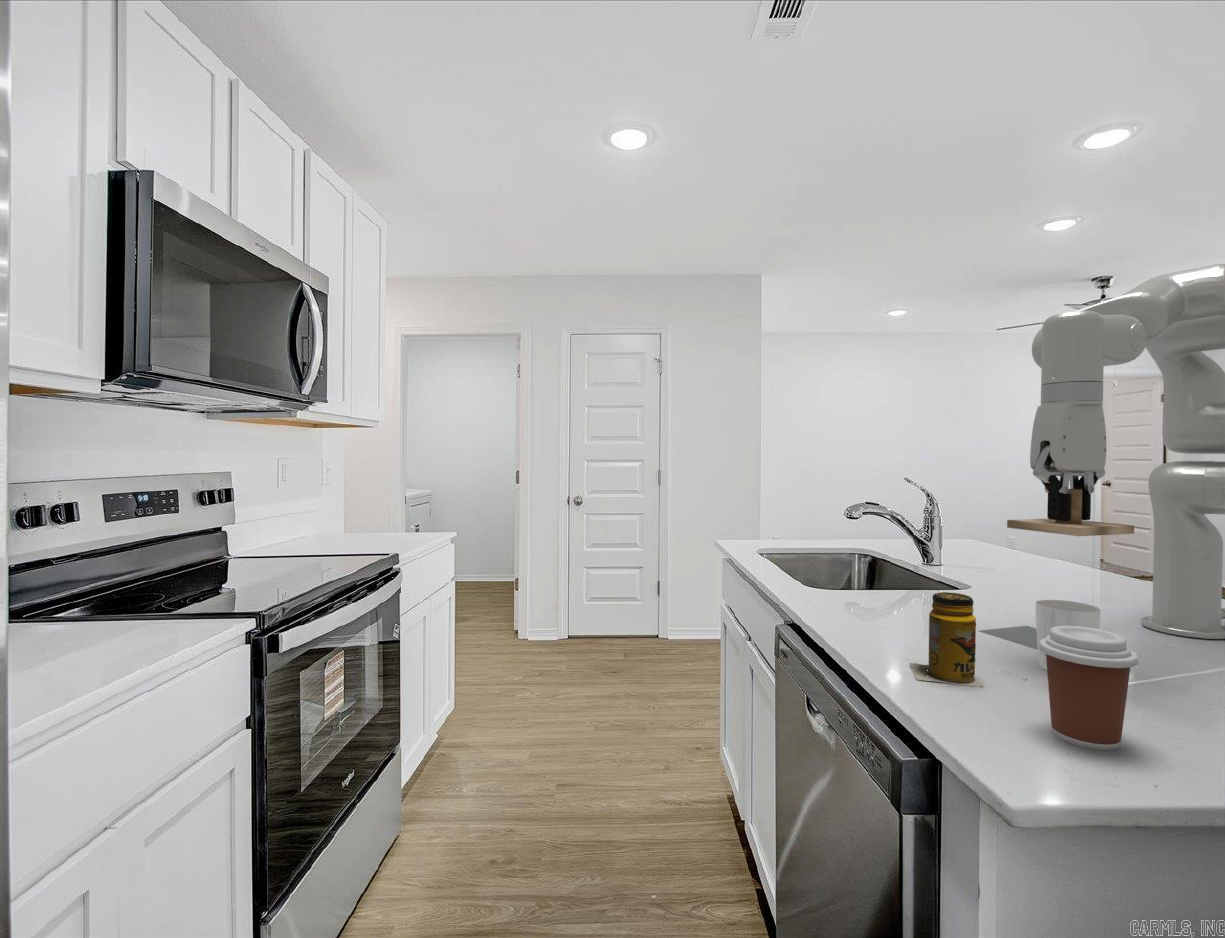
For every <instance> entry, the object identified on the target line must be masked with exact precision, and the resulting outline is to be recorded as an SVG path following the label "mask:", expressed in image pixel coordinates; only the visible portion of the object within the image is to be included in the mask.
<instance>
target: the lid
mask: <svg viewBox="0 0 1225 938" xmlns="http://www.w3.org/2000/svg"><path fill="white" fill-rule="evenodd" d="M1066 494H1071V496H1072V499H1071V520H1070V521H1061V520H1051V519H1048V518H1031V519H1030V518H1029V519H1028V518H1027V519H1024V518H1023V519H1007V520H1006V527H1007V529H1015V530H1024V531H1030V532H1031V531H1032V532H1040V533H1048V534H1049V533H1050V534H1057V535H1065V536H1074V537H1091V536H1093V537H1094V536H1118V535H1135V525H1134V524H1133V525H1131V524H1121V523H1111V522H1109V523H1108V522H1104V521H1103V522H1101V521H1090V520H1082V490H1081V489H1070V488H1068V492H1067V493H1066Z"/></svg>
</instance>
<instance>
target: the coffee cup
mask: <svg viewBox="0 0 1225 938" xmlns="http://www.w3.org/2000/svg"><path fill="white" fill-rule="evenodd" d="M1039 650H1041V651H1042V652H1044V653H1045V654H1046V661H1047V670H1046V674H1047V685H1048V687H1047V688H1048V698H1049V710H1050V711H1049V712H1050V723H1051V728H1050V729H1051V733H1052V734H1053V735H1054V736H1055V737H1056V738H1057V739H1060V740H1062V741H1064V742H1065V743H1068V744H1072V745H1075V746H1077V747H1081V748H1086V749H1090V750H1095V751H1096V750H1098V751H1116V750H1118V749H1120V748H1121V747H1122V738H1123V737H1122V736H1123V727H1124V721H1125V720H1124V719H1125V714H1126V711H1125V710H1126V706H1127V705H1126V704H1127V697H1128V690H1129V689H1128V688H1129V681H1130V680H1129V679H1130V673H1131V668H1133V667H1135V666H1138V665H1139V657H1138V654H1137V653H1136V652H1134V651H1132V650H1131V648H1130V647H1129V646H1127V639H1126V638H1125V637H1124V636H1123V635H1120V634H1119V633H1116V632H1112V631H1109V630H1104V629H1100V628H1099V629H1095V628H1088V627H1080V626H1056V627H1052V628H1051V629H1050V635H1048V636H1046V638H1044V639H1041V640H1040V644H1039Z"/></svg>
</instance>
